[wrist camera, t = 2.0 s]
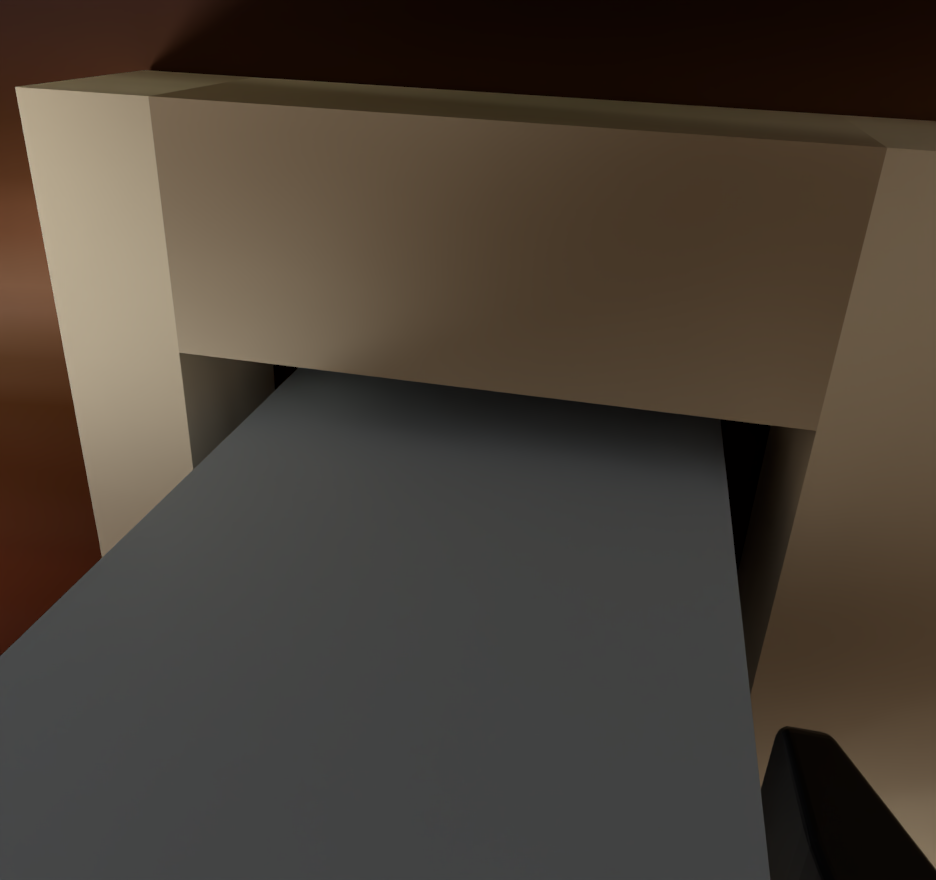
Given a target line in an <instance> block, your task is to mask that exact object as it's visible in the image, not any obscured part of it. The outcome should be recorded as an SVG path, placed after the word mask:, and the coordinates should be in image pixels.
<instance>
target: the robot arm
mask: <svg viewBox="0 0 936 880" xmlns="http://www.w3.org/2000/svg"><path fill="white" fill-rule="evenodd" d="M0 656H1V655H0ZM761 798H762V807H763V816H764V825H765V835H766V844H767V853H768V862H769V871H770V880H936V869H935V867H934V866H933V865H932V863H931V862H930V861H929V860H928V858H927V857H926V856H925V854H924V853H923V852H922V851H921V849H920V848H919V847H918V845H917V844H916V843H915V842H914V840H913V839H912V838H911V836H910V835H909V834H908V833H907V831H906V830H905V829H904V827H903V826H902V825H901V824H900V822H899V821H898V820H897V818H896V817H895V816H894V815H893V813H892V812H891V811H890V809H889V808H888V807H887V806H886V804H885V803H884V802H883V800H882V799H881V798H880V797H879V795H878V794H877V793H876V791H875V790H874V789H873V788H872V786H871V785H870V784H869V782H868V781H867V780H866V779H865V777H864V776H863V775H862V773H861V772H860V771H859V770H858V768H857V767H856V766H855V764H854V763H853V762H852V761H851V759H850V758H849V757H848V755H847V754H846V753H845V752H844V750H843V749H842V748H841V746H840V745H839V744H838V743H837V741H836V740H835V739H834V738H833V737H831V736H830V735H829V734H827V733H824V732H820V731H814V730H808V729H803V728H797V727H792V726H785V727H783V728H780V729H779V731H778V732H777V734H776V736H775V739H774V743H773V747H772V750H771V754H770V757H769V761H768V765H767V768H766V772H765V775H764V779H763V783H762V786H761Z"/></svg>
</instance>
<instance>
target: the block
mask: <svg viewBox="0 0 936 880" xmlns="http://www.w3.org/2000/svg"><path fill="white" fill-rule="evenodd" d="M0 880H770V871H769V862H768V853H767V844H766V835H765V825H764V816H763V807H762V798H761V789H760V779H759V770H758V761H757V752H756V743H755V734H754V724H753V715H752V706H751V697H750V688H749V678H748V669H747V660H746V651H745V642H744V632H743V623H742V614H741V605H740V596H739V587H738V577H737V568H736V559H735V550H734V541H733V531H732V522H731V513H730V504H729V495H728V485H727V476H726V467H725V458H724V449H723V440H722V430H721V421H720V419H716V418H707V417H699V416H691V415H683V414H675V413H667V412H659V411H650V410H642V409H634V408H626V407H618V406H610V405H602V404H593V403H585V402H577V401H569V400H561V399H553V398H545V397H536V396H528V395H520V394H512V393H504V392H496V391H488V390H479V389H471V388H463V387H455V386H447V385H439V384H431V383H422V382H414V381H406V380H398V379H390V378H382V377H374V376H365V375H357V374H349V373H341V372H333V371H325V370H317V369H308V368H300V367H299V368H298V369H297V370H296V371H295V372H294V373H293V374H292V375H291V376H289V377H288V378H287V379H286V380H285V381H284V382H283V383H282V384H281V385H280V386H279V387H278V388H277V389H276V390H275V391H274V392H273V393H272V394H271V395H270V396H269V397H268V398H267V399H266V400H265V401H264V402H263V403H262V404H261V405H259V406H258V407H257V408H256V409H255V410H254V411H253V412H252V413H251V414H250V415H249V416H248V417H247V418H246V419H245V420H244V421H243V422H242V423H241V424H240V425H239V426H238V427H237V428H236V429H235V430H234V431H233V432H232V433H231V434H230V435H228V436H227V437H226V438H225V439H224V440H223V441H222V442H221V443H220V444H219V445H218V446H217V447H216V448H215V449H214V450H213V451H212V452H211V453H210V454H209V455H208V456H207V457H206V458H205V459H204V460H203V461H202V462H201V463H200V464H199V465H197V466H196V467H195V468H194V469H193V470H192V471H191V472H190V473H189V474H188V475H187V476H186V477H185V478H184V479H183V480H182V481H181V482H180V483H179V484H178V485H177V486H176V487H175V488H174V489H173V490H172V491H171V492H170V493H169V494H168V495H166V496H165V497H164V498H163V499H162V500H161V501H160V502H159V503H158V504H157V505H156V506H155V507H154V508H153V509H152V510H151V511H150V512H149V513H148V514H147V515H146V516H145V517H144V518H143V519H142V520H141V521H140V522H139V523H138V524H137V525H135V526H134V527H133V528H132V529H131V530H130V531H129V532H128V533H127V534H126V535H125V536H124V537H123V538H122V539H121V540H120V541H119V542H118V543H117V544H116V545H115V546H114V547H113V548H112V549H111V550H110V551H109V552H108V553H107V554H105V555H104V556H103V557H102V558H101V559H100V560H99V561H98V562H97V563H96V564H95V565H94V566H93V567H92V568H91V569H90V570H89V571H88V572H87V573H86V574H85V575H84V576H83V577H82V578H81V579H80V580H79V581H78V582H77V583H76V584H74V585H73V586H72V587H71V588H70V589H69V590H68V591H67V592H66V593H65V594H64V595H63V596H62V597H61V598H60V599H59V600H58V601H57V602H56V603H55V604H54V605H53V606H52V607H51V608H50V609H49V610H48V611H47V612H46V613H45V614H43V615H42V616H41V617H40V618H39V619H38V620H37V621H36V622H35V623H34V624H33V625H32V626H31V627H30V628H29V629H28V630H27V631H26V632H25V633H24V634H23V635H22V636H21V637H20V638H19V639H18V640H17V641H16V642H15V643H14V644H12V645H11V646H10V647H9V648H8V649H7V650H6V651H5V652H4V653H3V654H2V655H1V656H0Z"/></svg>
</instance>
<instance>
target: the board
mask: <svg viewBox="0 0 936 880" xmlns="http://www.w3.org/2000/svg"><path fill="white" fill-rule="evenodd" d="M15 89H16V95H17V100H18V106H19V111H20V116H21V122H22V127H23V133H24V138H25V143H26V149H27V154H28V160H29V165H30V170H31V176H32V181H33V187H34V192H35V197H36V203H37V208H38V214H39V219H40V224H41V230H42V235H43V241H44V246H45V251H46V257H47V262H48V268H49V273H50V278H51V284H52V289H53V295H54V300H55V305H56V311H57V316H58V322H59V327H60V332H61V338H62V343H63V349H64V354H65V360H66V365H67V370H68V376H69V381H70V387H71V392H72V397H73V403H74V408H75V414H76V419H77V424H78V430H79V435H80V441H81V446H82V451H83V457H84V462H85V468H86V473H87V478H88V484H89V489H90V495H91V500H92V505H93V511H94V516H95V522H96V527H97V532H98V538H99V543H100V549H101V554H102V557H103V556H104V555H105V554H107V553H108V552H109V551H110V550H111V549H112V548H113V547H114V546H115V545H116V544H117V543H118V542H119V541H120V540H121V539H122V538H123V537H124V536H125V535H126V534H127V533H128V532H129V531H130V530H131V529H132V528H133V527H134V526H135V525H137V524H138V523H139V522H140V521H141V520H142V519H143V518H144V517H145V516H146V515H147V514H148V513H149V512H150V511H151V510H152V509H153V508H154V507H155V506H156V505H157V504H158V503H159V502H160V501H161V500H162V499H163V498H164V497H165V496H166V495H168V494H169V493H170V492H171V491H172V490H173V489H174V488H175V487H176V486H177V485H178V484H179V483H180V482H181V481H182V480H183V479H184V478H185V477H186V476H187V475H188V474H189V473H190V472H191V471H192V470H193V469H194V468H195V467H196V466H197V465H199V464H200V463H201V462H202V461H203V460H204V459H205V458H206V457H207V456H208V455H209V454H210V453H211V452H212V451H213V450H214V449H215V448H216V447H217V446H218V445H219V444H220V443H221V442H222V441H223V440H224V439H225V438H226V437H227V436H228V435H230V434H231V433H232V432H233V431H234V430H235V429H236V428H237V427H238V426H239V425H240V424H241V423H242V422H243V421H244V420H245V419H246V418H247V417H248V416H249V415H250V414H251V413H252V412H253V411H254V410H255V409H256V408H257V407H258V406H259V405H261V404H262V403H263V402H264V401H265V400H266V399H267V398H268V397H269V396H270V395H271V394H272V393H273V392H274V391H275V382H274V367H273V364H276V365H284V366H292V367H300V368H308V369H317V370H325V371H333V372H341V373H349V374H357V375H365V376H374V377H382V378H390V379H398V380H406V381H414V382H422V383H431V384H439V385H447V386H455V387H463V388H471V389H479V390H488V391H496V392H504V393H512V394H520V395H528V396H536V397H545V398H553V399H561V400H569V401H577V402H585V403H593V404H602V405H610V406H618V407H626V408H634V409H642V410H650V411H659V412H667V413H675V414H683V415H691V416H699V417H707V418H716V419H724V420H732V421H740V422H748V423H756V424H764V425H771V426H770V431H769V435H768V440H767V444H766V449H765V453H764V458H763V462H762V467H761V471H760V476H759V480H758V485H757V489H756V494H755V498H754V503H753V507H752V512H751V516H750V521H749V525H748V530H747V534H746V539H745V543H744V548H743V552H742V557H741V561H740V566H739V570H738V575H737V577H738V587H739V596H740V605H741V614H742V623H743V632H744V642H745V651H746V660H747V669H748V678H749V688H750V697H751V706H752V715H753V724H754V734H755V743H756V752H757V761H758V770H759V779H760V789H761V786H762V783H763V779H764V775H765V772H766V768H767V765H768V761H769V757H770V754H771V750H772V747H773V743H774V739H775V736H776V734H777V732H778V731H779V729H780V728H783V727H785V726H792V727H797V728H803V729H808V730H814V731H820V732H824V733H827V734H829V735H830V736H831V737H833V738H834V739H835V740H836V741H837V743H838V744H839V745H840V746H841V748H842V749H843V750H844V752H845V753H846V754H847V755H848V757H849V758H850V759H851V761H852V762H853V763H854V764H855V766H856V767H857V768H858V770H859V771H860V772H861V773H862V775H863V776H864V777H865V779H866V780H867V781H868V782H869V784H870V785H871V786H872V788H873V789H874V790H875V791H876V793H877V794H878V795H879V797H880V798H881V799H882V800H883V802H884V803H885V804H886V806H887V807H888V808H889V809H890V811H891V812H892V813H893V815H894V816H895V817H896V818H897V820H898V821H899V822H900V824H901V825H902V826H903V827H904V829H905V830H906V831H907V833H908V834H909V835H910V836H911V838H912V839H913V840H914V842H915V843H916V844H917V845H918V847H919V848H920V849H921V851H922V852H923V853H924V854H925V856H926V857H927V858H928V860H929V861H930V862H931V863H932V865H933V866H934V867H935V869H936V121H927V120H911V119H896V118H880V117H865V116H849V115H833V114H818V113H802V112H787V111H771V110H756V109H740V108H724V107H709V106H693V105H678V104H662V103H647V102H631V101H616V100H600V99H584V98H569V97H553V96H538V95H522V94H507V93H491V92H475V91H460V90H444V89H429V88H413V87H398V86H382V85H366V84H351V83H335V82H320V81H304V80H289V79H273V78H257V77H242V76H226V75H211V74H195V73H180V72H164V71H149V70H142V71H135V72H127V73H119V74H111V75H104V76H96V77H88V78H81V79H73V80H65V81H57V82H50V83H42V84H34V85H27V86H19V87H15Z"/></svg>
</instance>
